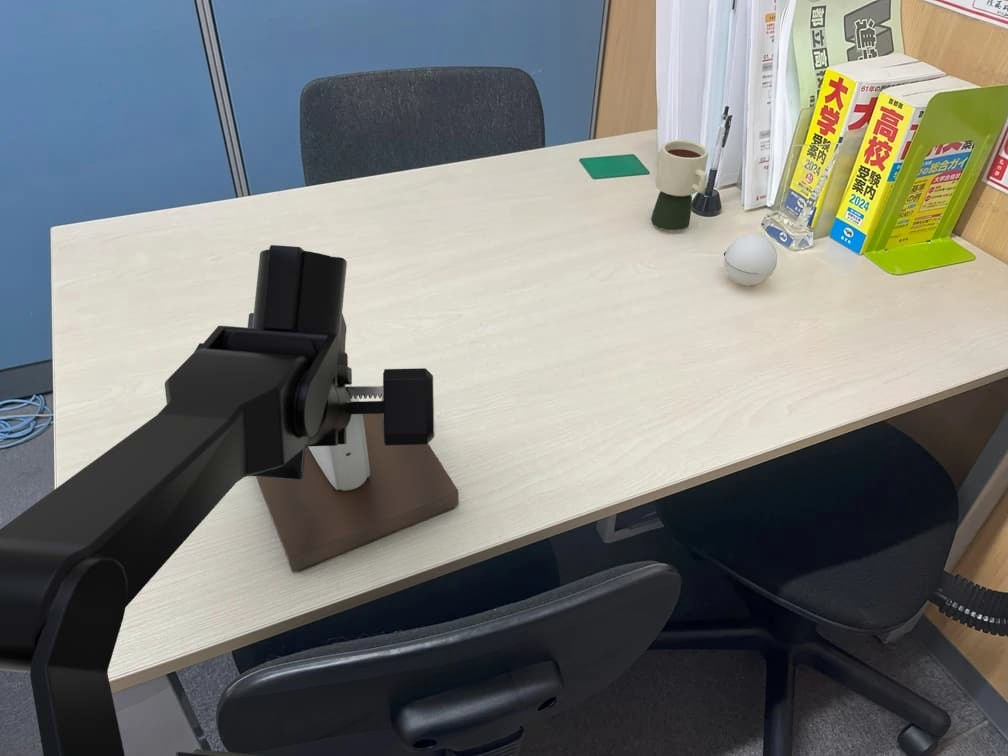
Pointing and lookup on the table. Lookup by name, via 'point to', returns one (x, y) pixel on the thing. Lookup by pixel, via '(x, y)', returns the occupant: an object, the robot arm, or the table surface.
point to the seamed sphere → (750, 259)
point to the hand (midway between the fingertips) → (335, 411)
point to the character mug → (678, 182)
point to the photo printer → (346, 456)
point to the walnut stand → (357, 500)
